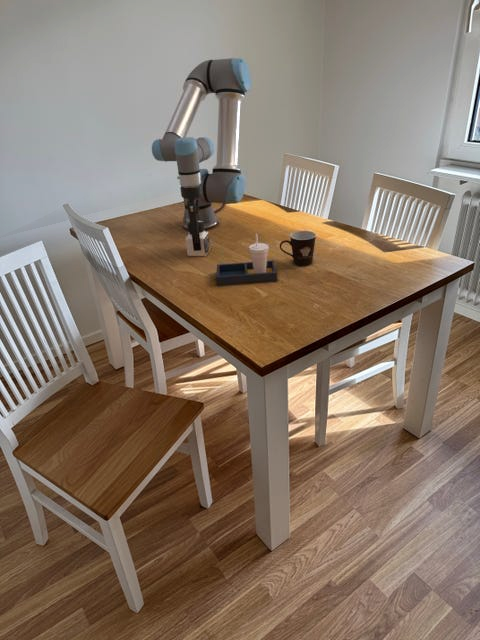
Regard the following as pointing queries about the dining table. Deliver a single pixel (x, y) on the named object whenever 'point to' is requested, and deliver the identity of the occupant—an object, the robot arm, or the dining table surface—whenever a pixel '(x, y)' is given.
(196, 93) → the robot arm
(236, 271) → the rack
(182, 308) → the dining table surface
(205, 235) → the medicine bottle
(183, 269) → the dining table surface
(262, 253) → the smoothie
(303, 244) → the coffee mug
